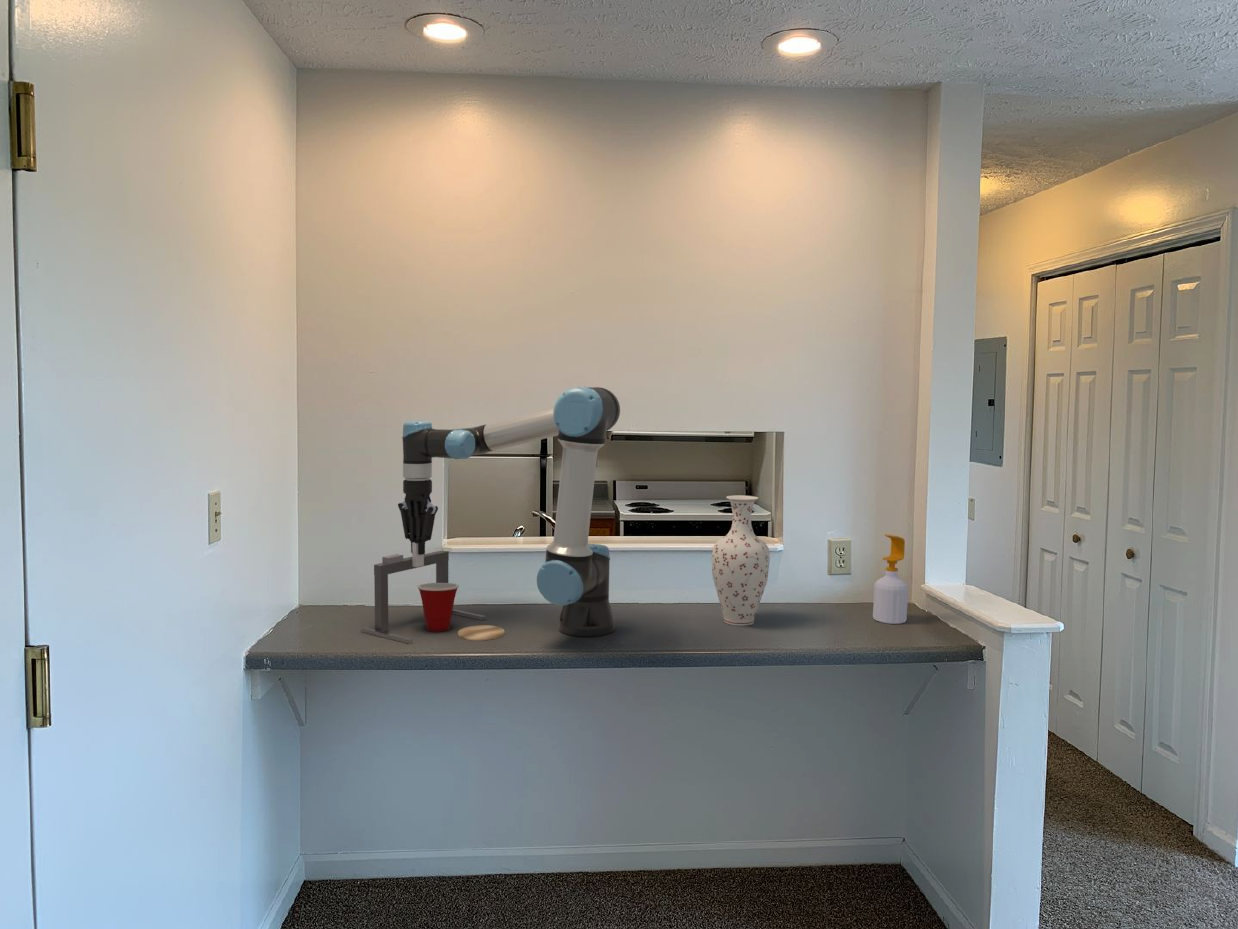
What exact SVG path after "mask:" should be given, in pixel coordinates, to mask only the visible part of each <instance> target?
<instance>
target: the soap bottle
mask: <svg viewBox="0 0 1238 929" xmlns="http://www.w3.org/2000/svg"><path fill="white" fill-rule="evenodd" d="M884 536H885V537H886V538H888V539H890V555H889V556H884V557H882V560H883V561H886V563H887V564H888V566H887V567H885V575H884V576H883V577H880V578H878V579H877V580H876V581H875V582H874V584H873V603H872V605H873V607H872V608H873V609H872V618H873V620H874V621H877V622H878V621H879V623H882V624H890V625H899V624H900V625H901V624H905V623H906V622H907V616H908V598H909V597H908V595H909V587H908V584H907V582H905V580H904V579H902V578H900V577H899V575H898V574H899V568H897V567H896V565H897V564H898V562H900V561H903V560H904V559H905V547H906V541H905V538H902V537H900V536H898V535H893V534H886V533H885V534H884Z"/></svg>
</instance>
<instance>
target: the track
mask: <svg viewBox="0 0 1238 929" xmlns="http://www.w3.org/2000/svg"><path fill="white" fill-rule="evenodd" d="M452 615H457V616H461V617H466V618H470V619H474V620H479V621H486V615H484V614H478V613H474V612H470V611H469V612H468V611H464V610H459V609H456V608H455V609H454V608H453V611H452ZM360 632H361V633H364V634H368V635H372V636H378V637H380V638H384V639H388V640H392V641H397V642H401V643H405V644H408V645H411V644H413V643H414V638H411V637H407V636H403V635H399V634H395V633H392V632H391V633H390V632H388V631H385V632H383V631H379V630H375V628H370V627H365V626H363V627H361V628H360Z"/></svg>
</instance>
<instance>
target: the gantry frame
mask: <svg viewBox="0 0 1238 929" xmlns="http://www.w3.org/2000/svg"><path fill="white" fill-rule="evenodd" d="M449 552H450V551H448V550H438V551H432V552H428V553H425V554H424V566H420V567H412V556H409V557H404V555H403V554H399V553H396V554H391V555H390V554H389V555H385V556H382V557H381V558H382V562H380V563H376V564H375V563H374V565H373V575H374V576H373V577H374V579H373V580H374V629H375V630H379V631H383V632H388V631H389V575H390V574H391V575H392V574H395V573H400V572H404V571H409V570H413V569H417V568H418V569H419V568H421V567H422V568H423V567H427V566H430V565H435V583H449V561H450V560H449V559H450V558H449V557H450V556H449Z"/></svg>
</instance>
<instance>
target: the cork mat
mask: <svg viewBox="0 0 1238 929" xmlns="http://www.w3.org/2000/svg"><path fill="white" fill-rule="evenodd" d="M504 635H505V629H504V628H502V627H499V626H495V625H488V624H480V625H479V624H478V625H470V626H466V627H463V628H460V629H459V630H458V631H457V636H458V637H459V638H460V639H462V640H467V641H473V642H474V641H475V642H477V641H480V642H481V641H493V640H497V639H500V638H502V637H503V636H504Z"/></svg>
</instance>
